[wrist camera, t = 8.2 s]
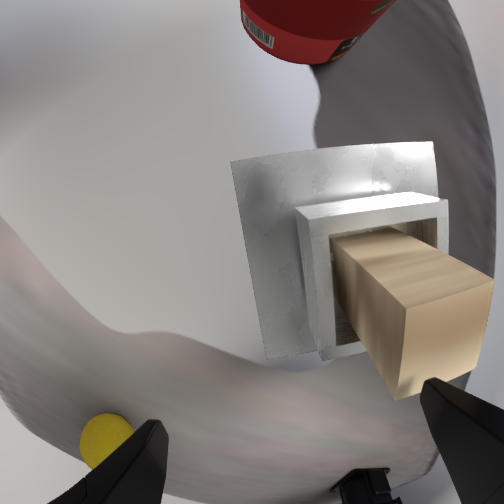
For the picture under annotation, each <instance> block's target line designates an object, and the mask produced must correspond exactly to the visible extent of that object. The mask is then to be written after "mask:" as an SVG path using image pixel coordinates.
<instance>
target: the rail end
mask: <svg viewBox="0 0 504 504" xmlns="http://www.w3.org/2000/svg"><path fill="white" fill-rule="evenodd" d="M331 241H332V251H333V261H334V271H335V283H336V296H337V302H338V304H339V305H340V307H341V309H342V310H343V312H344V314H345V315H346V317H347V318H348V320H349V322H350V323H351V325H352V327H353V328H354V330H355V332H356V333H357V335H358V337H359V339H360V340H361V342H362V344H363V345H364V347H365V349H366V350H367V352H368V354H369V356H370V357H371V359H372V361H373V363H374V364H375V366H376V368H377V370H378V371H379V373H380V375H381V377H382V378H383V380H384V382H385V384H386V386H387V387H388V389H389V391H390V393H391V395H392V396H393V398H394V400H395V401H397V400H400V399H403V398H406V397H409V396H412V395H414V394H417V393H420V392H421V390H422V387H423V383H424V381H425V380H427V379H429V378H432V377H436V378H439V379H441V380H443V381H445V382H447V381H449V380H451V379H454V378H456V377H458V376H460V375H462V374H464V373H466V372H469V371H471V370H473V369H475V368H476V364H477V361H478V358H479V354H480V350H481V346H482V343H483V338H484V334H485V330H486V326H487V321H488V316H489V311H490V306H491V300H492V294H493V287H494V280H493V279H492V278H490V277H488V276H486V275H485V274H483V273H481V272H479V271H478V270H476V269H474V268H472V267H470V266H468V265H467V264H465V263H463V262H461V261H459V260H457V259H455V258H454V257H452V256H450V255H448V254H446V253H444V252H442V251H440V250H438V249H436V248H434V247H432V246H430V245H428V244H426V243H424V242H422V241H420V240H418V239H416V238H414V237H412V236H409V235H407V234H405V233H403V232H401V231H399V230H397V229H395V228H387V229H382V230H376V231H370V232H364V233H359V234H353V235H347V236H342V237H336V238H331Z"/></svg>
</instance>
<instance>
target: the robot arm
mask: <svg viewBox="0 0 504 504" xmlns="http://www.w3.org/2000/svg"><path fill="white" fill-rule="evenodd" d="M420 403H421V406H422V409H423V411H424V414H425V417H426V420H427V423H428V426H429V429H430V432H431V434H432V437H433V439H434V441H435V443H436V445H437V448H438V450H439V452H440V454H441V456H442V458H443V461H444V463H445V465H446V467H447V470H448V472H449V474H450V476H451V479H452V481H453V484H454V486H455V489H456V491H457V493H458V496H459V498H460V501H461V503H462V504H504V410H503V409H501V408H499V407H497V406H495V405H493V404H491V403H488V402H486V401H484V400H482V399H480V398H478V397H476V396H473V395H472V394H469V393H467V392H465V391H463V390H461V389H459V388H457V387H455V386H453V385H451V384H449V383H447V382H445V381H443V380H441V379H439V378H436V377H432V378H429V379H427V380H425V381H424V383H423V387H422V390H421V394H420ZM168 442H169V437H168V434H167V432H166V430H165V428H164V426H163V424H162V422H161V421H160V420H156V419H149V420H147V421H146V422H145V423H144V424H143V425H142V426H140V427H139V428H138V429H137V430H136V431H135V432H134V433H133V434H132V435H131V436H130V437H129V438H128V439H126V440H125V441H124V442H123V443H122V444H121V445H120V446H119V447H118V448H117V449H115V450H114V451H113V452H112V453H111V454H110V455H109V456H108V457H107V458H105V459H104V460H103V461H102V462H101V463H100V464H99V465H97V466H96V467H95V468H94V469H93V470H92V471H91V472H89V473H88V474H87V475H86V476H85V478H82V479H81V480H80V481H79V482H78V483H76V484H75V485H74V486H73V487H71V488H70V489H69V490H67V491H66V492H65V493H63V494H62V495H60V496H59V497H57V498H56V499H54V500H52V501H51V502H49V503H47V504H161V499H162V494H163V489H164V484H165V478H166V470H167V455H168ZM389 472H390V468H379V469H356V470H353V471H352V472H351V473H350V474H349V475H348V476H347V477H345V478H344V479H343V480H342V481H341V482H340V483H338V484H337V485H336V486H335V487H333V488H332V489H331V490H330V491H331V493H340V495H341V499H342V503H343V504H402V501H401V499H400V497H398V498H396V499H395V500H393V499H392V497H391V494H390V492H391V488H390V486H389V483H388V480H387V477H386V474H388V473H389Z"/></svg>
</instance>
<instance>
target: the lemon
mask: <svg viewBox="0 0 504 504" xmlns="http://www.w3.org/2000/svg"><path fill="white" fill-rule="evenodd" d="M133 433H134V430H133V428H132V427H131V425H130V424H129V423H128V422H127V421H126V420H125V419H123V417H122V416H120V415H115V414H110V413H103V414H100V415H97V416H95V417H93V418H92V419H91V420H90V421H89V422H88V423H87V424H86V425H85V427H84V429H83V431H82V434H81V438H80V444H79V449H80V453H81V456H82V458H83V460H84V461H85V463H86V464H87V465H88V466H89V467H90V468H91V469H92V470H93V469H94V468H95V467H96V466H97V465H99V464H100V463H101V462H102V461H103V460H104V459H105V458H107V457H108V456H109V455H110V454H111V453H112V452H113V451H114V450H115V449H117V448H118V447H119V446H120V445H121V444H122V443H123V442H124V441H125V440H126V439H128V438H129V437H130V436H131V435H132V434H133Z"/></svg>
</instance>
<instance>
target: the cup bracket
mask: <svg viewBox="0 0 504 504" xmlns="http://www.w3.org/2000/svg"><path fill="white" fill-rule="evenodd" d="M231 168H232V174H233V178H234V185H235V190H236V195H237V201H238V207H239V212H240V218H241V223H242V229H243V234H244V239H245V245H246V251H247V256H248V262H249V267H250V272H251V278H252V283H253V289H254V294H255V299H256V305H257V310H258V315H259V321H260V326H261V331H262V337H263V342H264V348H265V353H266V358H267V359H274V358H280V357H286V356H292V355H298V354H303V353H309V352H314V351H318V352H319V354H320V357H321V360H322V361H326V360H331V359H336V358H340V357H345V356H349V355H353V354H357V353H362V352H366V351H367V350H366V349H365V347H364V345H363V344H362V342H361V340H360V339H359V337H358V335H357V333H356V332H355V330H354V328H353V327H352V325H351V323H350V322H349V320H348V318H347V317H346V315H345V314H344V312H343V310H342V309H341V307H340V305H339V304H338V302H337V296H336V283H335V271H334V261H333V251H332V241H331V238H336V237H342V236H347V235H353V234H359V233H364V232H370V231H376V230H382V229H387V228H395V229H397V230H399V231H401V232H403V233H405V234H407V235H409V236H412V237H414V238H416V239H418V240H420V241H422V242H424V243H426V244H428V245H430V246H432V247H434V248H436V249H438V250H440V251H442V252H444V253H446V254H448V243H449V217H448V200H446V199H442V198H438V187H437V175H436V165H435V156H434V148H433V142H403V143H382V144H366V145H353V146H342V147H331V148H322V149H313V150H305V151H298V152H290V153H282V154H276V155H268V156H262V157H256V158H250V159H244V160H238V161H233V162H231Z"/></svg>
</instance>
